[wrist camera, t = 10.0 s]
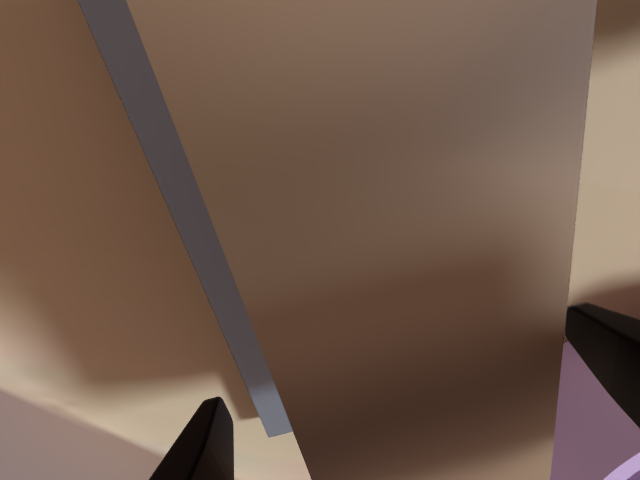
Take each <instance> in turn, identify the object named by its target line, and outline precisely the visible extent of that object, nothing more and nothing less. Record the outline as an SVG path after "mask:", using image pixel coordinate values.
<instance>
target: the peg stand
mask: <svg viewBox="0 0 640 480" xmlns="http://www.w3.org/2000/svg"><path fill="white" fill-rule="evenodd" d="M78 3H79V5H80V7H81V9H82V12H83V14H84V16H85V19H86V21H87V23H88V25H89V28H90V30H91V32H92V35H93V37H94V39H95V41H96V44H97V46H98V48H99V51H100V53H101V55H102V57H103V60H104V62H105V64H106V67H107V69H108V71H109V73H110V76H111V78H112V80H113V83H114V85H115V87H116V89H117V92H118V94H119V96H120V99H121V101H122V103H123V105H124V108H125V110H126V112H127V115H128V117H129V119H130V122H131V124H132V126H133V128H134V131H135V133H136V135H137V138H138V140H139V142H140V144H141V147H142V149H143V151H144V154H145V156H146V158H147V160H148V163H149V165H150V167H151V170H152V172H153V174H154V176H155V179H156V181H157V183H158V186H159V188H160V190H161V192H162V195H163V197H164V199H165V202H166V204H167V206H168V208H169V211H170V213H171V215H172V218H173V220H174V222H175V224H176V227H177V229H178V231H179V234H180V236H181V238H182V241H183V243H184V245H185V247H186V250H187V252H188V254H189V257H190V259H191V261H192V263H193V266H194V268H195V270H196V273H197V275H198V277H199V279H200V282H201V284H202V286H203V289H204V291H205V293H206V295H207V298H208V300H209V302H210V305H211V307H212V309H213V311H214V314H215V316H216V318H217V321H218V323H219V325H220V327H221V330H222V332H223V334H224V337H225V339H226V341H227V343H228V346H229V348H230V350H231V353H232V355H233V357H234V360H235V362H236V364H237V366H238V369H239V371H240V373H241V376H242V378H243V380H244V382H245V385H246V387H247V389H248V392H249V394H250V396H251V398H252V401H253V403H254V405H255V408H256V410H257V412H258V414H259V417H260V419H261V421H262V424H263V426H264V428H265V430H266V433H267V435H268V437H273V436H277V435H281V434H285V433H289V432H293V430H292V427H291V425H290V422H289V420H288V417H287V414H286V412H285V409H284V407H283V404H282V401H281V399H280V396H279V394H278V391H277V389H276V386H275V383H274V381H273V378H272V376H271V373H270V371H269V368H268V365H267V363H266V360H265V358H264V355H263V352H262V350H261V347H260V345H259V342H258V340H257V337H256V334H255V332H254V329H253V327H252V324H251V321H250V319H249V316H248V314H247V311H246V309H245V306H244V303H243V301H242V298H241V296H240V293H239V290H238V288H237V285H236V283H235V280H234V278H233V275H232V272H231V270H230V267H229V265H228V262H227V260H226V257H225V254H224V252H223V249H222V247H221V244H220V241H219V239H218V236H217V234H216V231H215V229H214V226H213V223H212V221H211V218H210V216H209V213H208V210H207V208H206V205H205V203H204V200H203V198H202V195H201V192H200V190H199V187H198V185H197V182H196V179H195V177H194V174H193V172H192V169H191V167H190V164H189V161H188V159H187V156H186V154H185V151H184V149H183V146H182V143H181V141H180V138H179V136H178V133H177V130H176V128H175V125H174V123H173V120H172V118H171V115H170V112H169V110H168V107H167V105H166V102H165V99H164V97H163V94H162V92H161V89H160V87H159V84H158V81H157V79H156V76H155V74H154V71H153V68H152V66H151V63H150V61H149V58H148V56H147V53H146V50H145V48H144V45H143V43H142V40H141V38H140V35H139V32H138V30H137V27H136V25H135V22H134V19H133V17H132V14H131V12H130V9H129V7H128V4H127V1H126V0H78Z"/></svg>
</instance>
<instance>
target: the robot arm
mask: <svg viewBox="0 0 640 480" xmlns="http://www.w3.org/2000/svg"><path fill="white" fill-rule="evenodd" d="M565 335H566V338H567V340H568V341H569V343H570V344H571V345H572V347H573V348H574V349H575V351H576V352H577V353H578V355H579V356H580V357H581V358H582V360H583V361H584V362H585V364H586V365H587V366H588V368H589V369H590V370H591V372H592V373H593V374H594V376H595V377H596V378H597V380H598V381H599V382H600V384H601V385H602V386H603V388H604V389H605V390H606V391H607V393H608V394H609V395H610V396H611V397H612V398H613V400H614V401H615V402H616V403H617V404H618V405H619V406H620V407H621V409H622V410H623V411H624V412H625V413H626V414H627V415H628V416H629V417H630V419H631V420H632V421H633V422H634V423H635V424H636V425H637V426H638V427H639V428H640V320H639V319H636V318H633V317H630V316H627V315H624V314H621V313H618V312H614V311H611V310H608V309H605V308H602V307H599V306H596V305H593V304H590V303H579V304H575V305H572V306H569V307H568V309H567V312H566V322H565ZM149 480H234V439H233V421H232V418H231V415H230V413H229V411H228V409H227V407H226V405H225V403H224V401H223V399H222V398H221V397H215V398H211V399H207V400H205V401H203V402H202V404H201V405H200V407H199V408H198V409H197V411H196V412H195V414H194V415H193V417H192V418H191V420H190V421H189V422H188V424H187V425H186V427H185V428H184V430H183V431H182V432H181V434H180V435H179V437H178V438H177V440H176V441H175V443H174V444H173V445H172V447H171V448H170V450H169V451H168V453H167V454H166V456H165V457H164V458H163V460H162V461H161V463H160V464H159V466H158V467H157V469H156V470H155V471H154V473H153V474H152V476H151V477H150V479H149Z"/></svg>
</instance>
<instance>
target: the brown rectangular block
mask: <svg viewBox="0 0 640 480" xmlns="http://www.w3.org/2000/svg"><path fill="white" fill-rule="evenodd" d="M126 1H127V4H128V7H129V9H130V12H131V14H132V17H133V19H134V22H135V25H136V27H137V30H138V32H139V35H140V38H141V40H142V43H143V45H144V48H145V50H146V53H147V56H148V58H149V61H150V63H151V66H152V68H153V71H154V74H155V76H156V79H157V81H158V84H159V87H160V89H161V92H162V94H163V97H164V99H165V102H166V105H167V107H168V110H169V112H170V115H171V118H172V120H173V123H174V125H175V128H176V130H177V133H178V136H179V138H180V141H181V143H182V146H183V149H184V151H185V154H186V156H187V159H188V161H189V164H190V167H191V169H192V172H193V174H194V177H195V179H196V182H197V185H198V187H199V190H200V192H201V195H202V198H203V200H204V203H205V205H206V208H207V210H208V213H209V216H210V218H211V221H212V223H213V226H214V229H215V231H216V234H217V236H218V239H219V241H220V244H221V247H222V249H223V252H224V254H225V257H226V260H227V262H228V265H229V267H230V270H231V272H232V275H233V278H234V280H235V283H236V285H237V288H238V290H239V293H240V296H241V298H242V301H243V303H244V306H245V309H246V311H247V314H248V316H249V319H250V321H251V324H252V327H253V329H254V332H255V334H256V337H257V340H258V342H259V345H260V347H261V350H262V352H263V355H264V358H265V360H266V363H267V365H268V368H269V371H270V373H271V376H272V378H273V381H274V383H275V386H276V389H277V391H278V394H279V396H280V399H281V401H282V404H283V407H284V409H285V412H286V414H287V417H288V420H289V422H290V425H291V427H292V430H293V432H294V435H295V438H296V440H297V443H298V445H299V448H300V451H301V453H302V456H303V458H304V461H305V463H306V466H307V469H308V471H309V474H310V476H311V479H312V480H550V474H551V464H552V454H553V444H554V434H555V424H556V413H557V403H558V393H559V383H560V373H561V363H562V353H563V342H564V332H565V322H566V312H567V302H568V292H569V282H570V272H571V261H572V251H573V241H574V231H575V221H576V211H577V201H578V190H579V180H580V170H581V160H582V150H583V140H584V130H585V120H586V109H587V99H588V89H589V79H590V69H591V59H592V49H593V38H594V28H595V18H596V8H597V0H126Z"/></svg>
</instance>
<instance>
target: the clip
mask: <svg viewBox="0 0 640 480" xmlns="http://www.w3.org/2000/svg"><path fill="white" fill-rule="evenodd" d="M550 480H640V428H639V427H638V426H637V425H636V424H635V423H634V422H633V421H632V420H631V419H630V417H629V416H628V415H627V414H626V413H625V412H624V411H623V410H622V409H621V407H620V406H619V405H618V404H617V403H616V402H615V401H614V400H613V398H612V397H611V396H610V395H609V394H608V393H607V391H606V390H605V389H604V388H603V386H602V385H601V384H600V382H599V381H598V380H597V378H596V377H595V376H594V374H593V373H592V372H591V370H590V369H589V368H588V366H587V365H586V364H585V362H584V361H583V360H582V358H581V357H580V356H579V355H578V353H577V352H576V351H575V349H574V348H573V347H572V345H571V344H570V343H569V341H567V342H565V343H563V353H562V363H561V373H560V383H559V393H558V403H557V413H556V424H555V434H554V444H553V454H552V464H551V474H550Z"/></svg>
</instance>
